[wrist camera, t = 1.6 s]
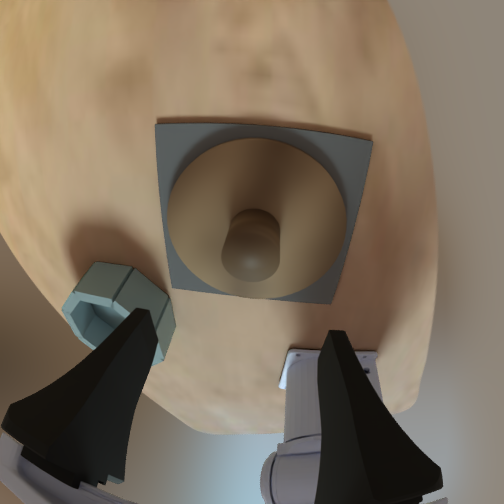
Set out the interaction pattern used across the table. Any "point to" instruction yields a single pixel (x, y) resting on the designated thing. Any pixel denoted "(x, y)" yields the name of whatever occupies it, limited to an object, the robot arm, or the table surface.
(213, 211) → the lid
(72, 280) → the table surface
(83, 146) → the table surface
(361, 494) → the robot arm
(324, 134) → the mat
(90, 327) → the bowl
